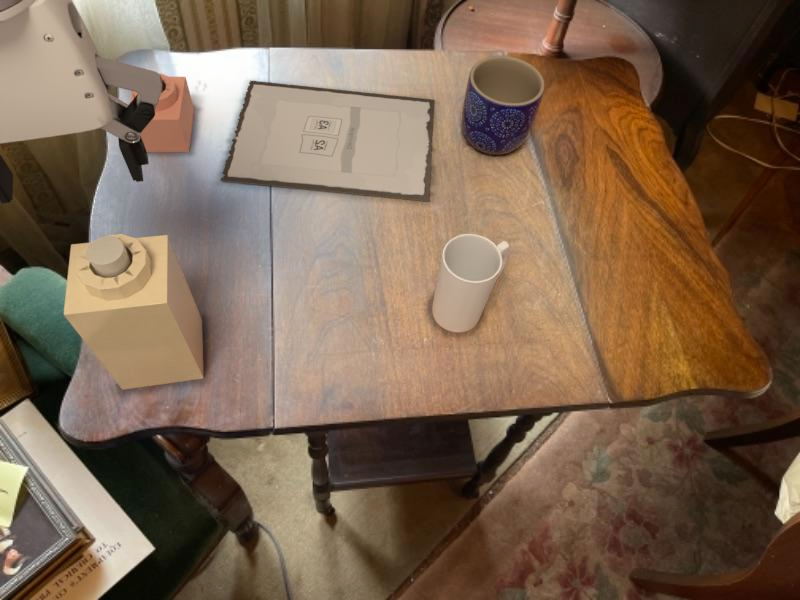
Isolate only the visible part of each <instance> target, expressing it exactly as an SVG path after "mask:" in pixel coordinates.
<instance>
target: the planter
mask: <svg viewBox="0 0 800 600" xmlns="http://www.w3.org/2000/svg"><path fill="white" fill-rule="evenodd" d="M545 87H546V85H545V79H544V77H543V76H542V74H541V73H540V71H539V70H538V69H537V68H536V67H535V66H534V65H532V64H530V63H529V62H527V61H525V60H523V59H522V58H517V57H513V56H509V55H493V56H488V57H485V58H482V59H480V60H479V61H477V62H476V63H475V64H474V65H473V66H472V67H471V69H470V72H469V75H468V78H467V83H466V88H465V93H464V98H463V104H462V111H461V130H462V132H463V135H464V137H465V138H466V140H467V141H468V143H469V144H470V145H471V146H472V147H473V148H474V149H475V150H477V151H480V152H481V153H484V154H487V155H491V156H499V155H505V154H508V153H511V152H513V151H515V150H516V149H518V148H519V147H520V146H521V145H522V144H523V143H524V142H525V141H526V139H527V138H528V135H529V134H530V131H531V129H532V127H533V125H534V122H535V119H536V117H537V114H538V112H539V109H540V105H541V102H542V99H543V97H544V92H545V89H546V88H545Z"/></svg>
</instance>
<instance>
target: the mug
mask: <svg viewBox="0 0 800 600" xmlns="http://www.w3.org/2000/svg"><path fill="white" fill-rule="evenodd" d="M509 247H510V244H509V243H508V242H507V241H506V240H502V241H501V242H500V243H498V244H495V242H493V241H492V240H491V239H490V238H488V237H485V236H483V235H479V234H475V233H462V234H459V235H457V236H453V237H452V238H450V239H449V240H448V241H447V242H446V244H445V245H444V247H443V249H442V254H441V259H440V264H439V268H438V274H437V278H436V284H435V290H434V294H433V301H432V306H431V312H432V317H433V320H434V321H435V322H436V324H437V325H438V326H439V327H441V328H442V329H443V330H445V331H447V332H450V333H459V334H460V333H465V332H469V331H471V330H472V329H473V328H475V327H476V325H477V324H478V323H479V320H480V318H481V316H482V315H483V312H484V310H485V307H486V305H487V303H488V300H489V298H490V296H491V293H492V291H493V289H494V286H495V284H496V282H497V280H498V279H499V277H500V276H501V274H502V273H503V271H504V269H505V268H506V265H507V264H508V261H509V258H510V255H511V253H510V248H509Z"/></svg>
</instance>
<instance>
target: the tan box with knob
mask: <svg viewBox="0 0 800 600" xmlns="http://www.w3.org/2000/svg"><path fill="white" fill-rule="evenodd" d="M104 236H113V237H116V238H118V239H120V240H121V241H122V243H123V244H124V246H125V248H126V250H127V252H128V254H129V256H130V265H129V267H128V268H127V269H126V271H124V272H123V273H122V274H120V275H117V276H114V277H104V276H101V275H99V274H98V273H97V272H96V271H95V269H94V268H93V266H92V265H91V263H90V261H89V260H88V258H87V255H86V251H87V248H88V246H89V245H90V244H91V243H92V242H93V241H94V240H92V241H90V242H82V243H72V244H70V251H69V260H68V261H69V262H68V269H67V280H66V288H65V297H64V306H63V316H64V318H65V319H66V321H68V323H69V324H70V325H71V327H73V329H74V330H75V332H76V333H77V334H78V335H79V336H80V338H81V339H82V340H83V342H84V343H85V344H86V346H87V347H88V348H89V349H90V351H91V352H92V353H93V354H94V356H95V357H96V358H97V360H98V361H99V362H100V363H101V365H102V366H103V367H104V368H105V370H106V371H107V372H108V373H109V375H110V376H111V377H112V379H113V380H114V381H115V382H116V383H117V385H118V386H119V387H120V389H121V390H122V391H123V390H131V389H137V388H145V387H152V386H154V387H155V386H159V385H167V384H168V385H169V384H174V383H183V382H189V381H194V380H195V381H196V380H203V379H204V378H205V377H204V338H203V319H202V316H201V313H200V312H199V309H198V307H197V304H196V302H195V299H194V297H193V294H192V292H191V289H190V286H189V284H188V281H187V279H186V277H185V274H184V272H183V270H182V267H181V265H180V262H179V259H178V257H177V255H176V252H175V249H174V247H173V245H172V242H171V240H170V237H169V235H168V234H162V235H153V236H143V237H142V236H141V237H133V236H129V235H127V234H124V233H117V234H115V233H114V234H106V235H102V236H101V237H104Z"/></svg>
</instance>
